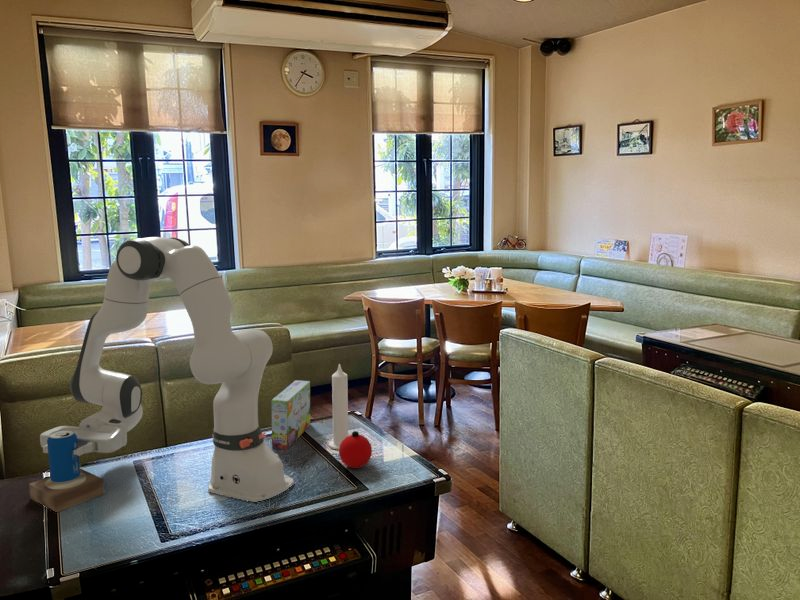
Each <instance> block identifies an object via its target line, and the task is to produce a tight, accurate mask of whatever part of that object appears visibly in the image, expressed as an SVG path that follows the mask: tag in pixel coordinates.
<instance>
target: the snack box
mask: <svg viewBox="0 0 800 600" xmlns="http://www.w3.org/2000/svg"><path fill="white" fill-rule="evenodd" d="M270 402H271V448H272V449H278V448H279V449H278V450H286V449H287V450H288V449H289V448H290V447H291V446H292V445H293V444H294V443H295V442H296V441H297V440H298V438H300V437H301V435H302V434H304V432H305V431H306V430H307V429H308V428H309V427H310V426H311V381H310V380H298V379H297V380H296V379H295V380H293V382H292V383H290V384H289V385H288V386H287V387H285V388H284V389H283V390H281V392H280V393H278V394H277V395H276V396H275V397H273V399H271V401H270ZM296 439H297V440H296ZM295 440H296V441H295ZM294 441H295V442H294Z"/></svg>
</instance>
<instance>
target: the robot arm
mask: <svg viewBox="0 0 800 600" xmlns="http://www.w3.org/2000/svg"><path fill="white" fill-rule="evenodd" d="M166 279H169V280H170V281H172V283H173V284H174V285H175V288H176V289H177V292H178V295H179V297H180V299H181V301H182V303H183V305H184V307H185V310H186V312H187V314H188V316H189V319H190V322H191V325H192V329H193V337H194V338H193V339H194V345H193V346H194V347H193V349H192V353H191V355H190V356H189V357H190V358H189V368H190V370H191V373H192V375H193V377H194V378H195V380H197V381H198V382H200V383H201V384H204V385H215V384H221V386H220V387H219V390H218V391H217V393H216V395H215V396H214V398H213V401H212V402H213V403H212V404H213V405H212V407H213V426H214V427H213V429H212V434H211V435H212V443H213V445H214V448H213V449H214V450H213V453H212V458H211V468H210V469H211V471H210V473H211V474H210V481H209V485H208V489H207V492H208V493H210V492H211V494H214V493H216V494H215V495H219V494H221V495H220V496H223V495H225V496H224V497H227V496H229V497H228V498H231V497H233V498H232V499H235V498H237V499H236V500H239V499H243V500H242V501H244V500H248V501H252V502H257V501H262V500H265V499H269V498H271V497H273V496H275V495H277V494H279V493H281V492H283V491H285V490H287V489H288V488H289V487H291V486H292V484H293V483H294V484H295V482H294V481H295V480H294V479H293V478H291V477H290V476H288V475H287V474H285V471H284V465H283V462H282V460H281V459H280V456H279V454H278V453H275V452H274V451H273V450H272V449H271V448H270V447H269V445H267V444H266V442H265V438H266V437H267V435H266V434H267V432H262V429H261V426H260V424H259V407H258V406H259V405H258V404H259V394H260V387H261V383H262V378H263V375H264V371H265V368H266V366H267V364H268V362H269V360H270V359H271V357H272V355H273V350H274V346H273V342H272V340H271V338H270V336H269V335H268V334H267V333H266V332H265V331H263V330H261V329H255V328H254V329H253V328H250V329H249V328H247V329H241V330H237V331H235V332H233V329H232V326H231V314H232V313H233V310H234V301H233V300H232V297H231V296H230V294H229V292H228V290H227V287H226V286H225V283H224V281H223V280H222V277H221V276H220V273H219V270H217V268H216V266H215V264H214V263H213V261H212V260H211V258H210V257H209V256H208V254H207V252H206V251H205V250H204V249H203V248H202V247H200V246H197V245H190V244H189V243H188V242H187V241H185V240H183V239H181V238H178V237H160V236H149V237H142V238H140V237H136V238H135V237H134V238H131V239H129V240H127V241H125V242H123V243H121V244H120V246H119V247H118V249H117V251H116V255H115V260H114V261H113V262H112V263H111V264H110V267H109V271H108V274H107V277H106V282H105V287H104V296H103V302H102V304H101V308H100V309H99V311H97V312H95V313H93V314H92V316H91V318H90V319H89V321H88V324H87V328H86V329H85V333H84V337H83V342H82V344H81V349H80V353H79V356H78V361H77V365H76V367H75V370H74V372H73V373H72V374H73V375H72V376H71V379H70V383H69V390H70V394H71V395H72V397H73V398H74V399H75V401H76V402H78V403H84V404H93V405H98V406H101V407H102V408H101V409H100V410H99V411H97V412H95V413H93V414H91V415H89V416H87V417H85V418H84V419H82V420H81V421H80V423H79V425H78V426H73V425H60V426H56V427H54V428H51V429H48V430H46V431H44V432H42V433H40V434H39V442H40V447H41V448H42V452H43V453H44V454H48V445H47V439H48V438H49V434H50V433H52V432H54V431H57V430H63V429H71V430H74V431H75V434H76V435H77V442H78V447H76V448H74V449H73V452H74V453H73V455H75V456H79V457H80V456H83V455H84V454H89V453H101V454H110V453H114V452H116V451H117V450H119V449H121V448H122V447H126V445H127V444H128V435H127V434H128V432H130V431H131V430H132V429H133V428H135V427H136V426H137V424H138V423H139V422H140V421H141V419H142V418H143V411H144V410H143V406H142V405H141V403H142V398H143V389H142V386H141V383H140V382H139V379H138V378H137V376H134V375H131V374H128V373H123V372H117V371H112V370H108V369H104V368H102V366H101V365H100V362H101V359H102V354H103V350H104V347H105V342H106V340H107V338H109V336H110V335H112V334H117V333H123V332H128V331H131V330H133V329H135V328H138V327H139V326H140V325H141V324H142V323H143V322H144V321H145V320H146V317H147V316H148V311H149V303H150V301H149V300H150V291H151V286H152V284H153V282H154V281H156V280H160V281H161V280H166ZM294 484H293V485H294ZM292 487H293V486H292ZM292 487H291V488H292ZM288 490H289V489H288ZM288 490H287V491H288ZM269 500H270V499H269ZM248 501H247V502H248ZM252 502H251V503H252ZM262 502H263V501H262ZM257 503H258V502H257Z"/></svg>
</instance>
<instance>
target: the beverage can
mask: <svg viewBox="0 0 800 600" xmlns="http://www.w3.org/2000/svg"><path fill="white" fill-rule="evenodd" d="M47 445H48V453H47V454H48V455H47V456H48V466H49V477H51V481H52V482H55V483H56V484H66V483H70V482H73V481H75V480H76V479H77V478H78V477H79V476H80V468H81V467H80V456H75V455H73V453H74V452H73V449H74V448H76V447H78V442H77V435H76V434H75V431H74V430H71V429H63V430H57V431H54V432H52V433H50V434H49V438H48V439H47Z"/></svg>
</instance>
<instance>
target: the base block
mask: <svg viewBox="0 0 800 600" xmlns="http://www.w3.org/2000/svg"><path fill="white" fill-rule="evenodd" d="M28 487H29V488H28V489H29V498H30V500H31V499H33V500H35V501H37V502H39V503H40V504H42V505H44V506H46V507H48V508H50V509H52V510H53V511H55V512H58V513H60V512H62V511H63V512H64V510H67V509H70V508H72V507H74V506H77V505H80V504H82V503H85V502H87V501H89V500H92V499H95V498H98V497H100V496H102V495H105V489H104V479H103V478H102V477H100V476H98V475H96V474H93V473H91V472H89V471H87V470H85V469H83V468H82V467H80V476H79V477H78V478H77V479H76V480H75V481H73V482H70V483H66V484H56V483H55V482H52V481H51V477H50V476H48V477H45V478H42V479H40V480H36V481H34V482H31V483H29V484H28ZM33 500H32V501H33ZM35 501H34V502H35ZM40 504H39V505H40ZM42 505H41V506H42Z"/></svg>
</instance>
